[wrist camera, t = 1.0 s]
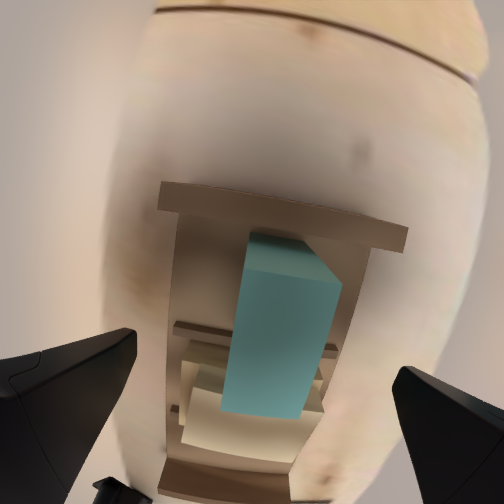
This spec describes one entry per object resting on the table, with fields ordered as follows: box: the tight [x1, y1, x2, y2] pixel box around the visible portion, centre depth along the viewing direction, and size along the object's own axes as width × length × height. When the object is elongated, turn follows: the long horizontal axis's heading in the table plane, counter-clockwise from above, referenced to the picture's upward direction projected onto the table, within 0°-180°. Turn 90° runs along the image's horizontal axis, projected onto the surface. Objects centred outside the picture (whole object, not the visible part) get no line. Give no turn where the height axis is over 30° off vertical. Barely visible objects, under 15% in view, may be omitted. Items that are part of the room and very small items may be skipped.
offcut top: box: [181, 363, 324, 463], centre depth 14 cm, size 5×7×2 cm
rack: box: [157, 181, 408, 504], centre depth 16 cm, size 24×11×5 cm, turn 170°
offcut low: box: [179, 340, 323, 426], centre depth 17 cm, size 6×8×2 cm
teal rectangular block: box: [220, 232, 343, 419], centre depth 13 cm, size 6×3×8 cm, turn 170°
